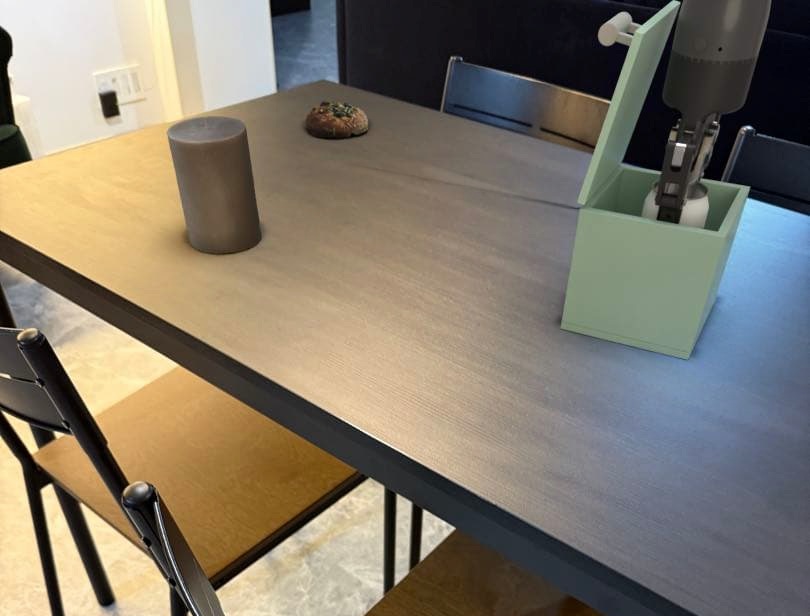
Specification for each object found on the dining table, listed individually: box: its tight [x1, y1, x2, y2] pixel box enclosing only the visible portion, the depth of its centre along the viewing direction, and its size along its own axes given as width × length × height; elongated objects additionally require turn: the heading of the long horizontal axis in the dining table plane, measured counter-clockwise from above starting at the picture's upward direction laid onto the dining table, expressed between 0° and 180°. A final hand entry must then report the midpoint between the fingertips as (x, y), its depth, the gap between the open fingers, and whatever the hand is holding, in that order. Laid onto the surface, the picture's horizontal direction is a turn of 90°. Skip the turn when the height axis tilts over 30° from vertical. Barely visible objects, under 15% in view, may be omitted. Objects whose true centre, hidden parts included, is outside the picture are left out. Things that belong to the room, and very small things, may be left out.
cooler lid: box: [576, 0, 681, 206], centre depth 75 cm, size 15×14×5 cm
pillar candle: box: [166, 115, 263, 255], centre depth 97 cm, size 10×10×15 cm
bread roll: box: [305, 100, 369, 139], centre depth 132 cm, size 11×11×5 cm
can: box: [641, 180, 709, 229], centre depth 81 cm, size 6×6×12 cm
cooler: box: [560, 164, 751, 361], centre depth 83 cm, size 14×14×13 cm
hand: (671, 229), depth 80 cm, fingers closed on can, 6 cm apart
